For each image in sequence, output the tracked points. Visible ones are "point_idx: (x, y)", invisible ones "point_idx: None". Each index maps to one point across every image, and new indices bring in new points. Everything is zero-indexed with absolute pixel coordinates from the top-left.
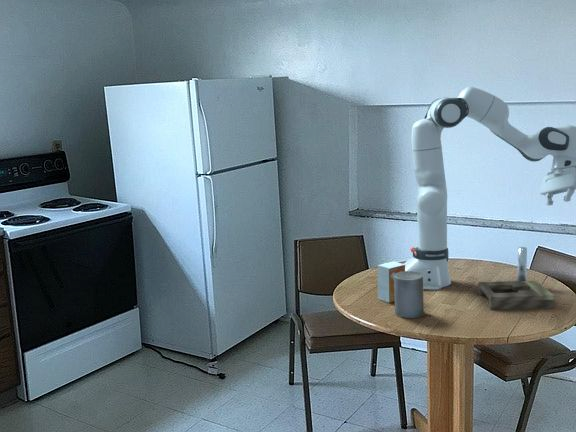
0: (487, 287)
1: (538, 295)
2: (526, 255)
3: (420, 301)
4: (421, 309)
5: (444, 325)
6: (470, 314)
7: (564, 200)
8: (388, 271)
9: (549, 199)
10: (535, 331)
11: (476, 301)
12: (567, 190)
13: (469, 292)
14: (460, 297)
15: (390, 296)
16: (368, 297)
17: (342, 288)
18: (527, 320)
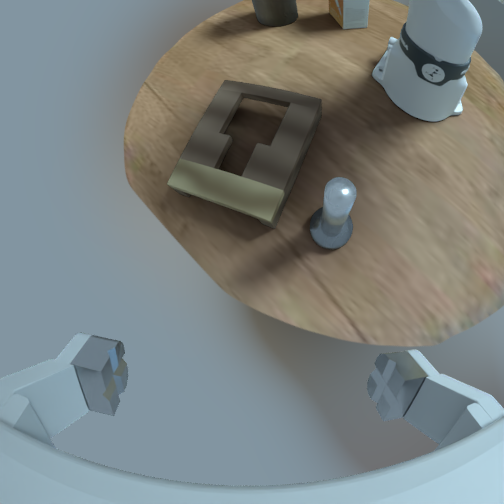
0: (279, 96)
1: (183, 155)
2: (325, 207)
3: (254, 5)
4: (257, 15)
5: (215, 34)
6: (231, 65)
7: (110, 339)
8: None
9: (426, 400)
10: (133, 115)
11: None
12: (16, 395)
13: (338, 108)
14: (316, 83)
15: (329, 7)
16: None
17: None
18: (164, 123)
